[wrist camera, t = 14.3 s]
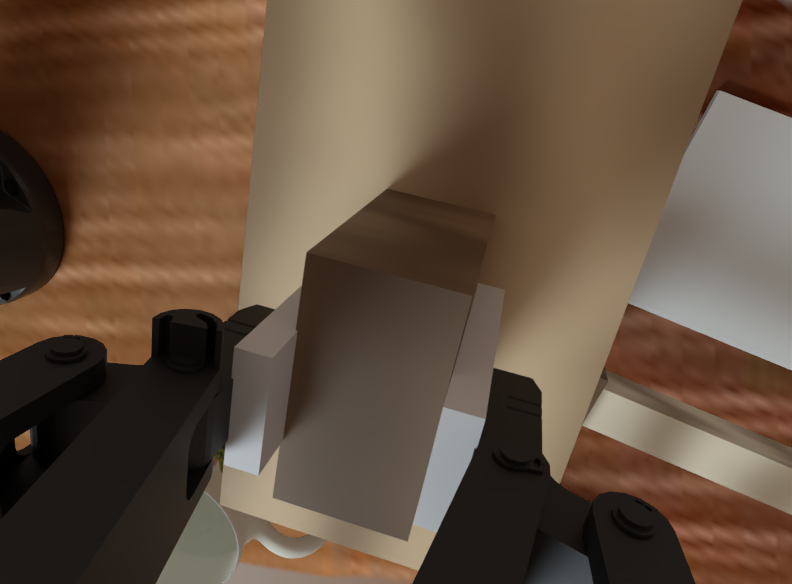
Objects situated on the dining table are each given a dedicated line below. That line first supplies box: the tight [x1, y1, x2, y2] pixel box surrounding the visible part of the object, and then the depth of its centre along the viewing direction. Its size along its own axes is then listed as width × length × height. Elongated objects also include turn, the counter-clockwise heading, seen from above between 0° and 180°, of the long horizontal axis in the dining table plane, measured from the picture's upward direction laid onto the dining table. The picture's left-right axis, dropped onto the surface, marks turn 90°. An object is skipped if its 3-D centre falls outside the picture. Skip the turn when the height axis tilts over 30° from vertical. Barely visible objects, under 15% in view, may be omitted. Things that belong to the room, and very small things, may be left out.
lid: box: [220, 0, 742, 571], centre depth 16 cm, size 12×21×9 cm, turn 169°
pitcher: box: [156, 444, 326, 584], centre depth 45 cm, size 11×18×14 cm, turn 73°
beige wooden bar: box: [582, 370, 792, 515], centre depth 33 cm, size 22×3×3 cm, turn 70°
